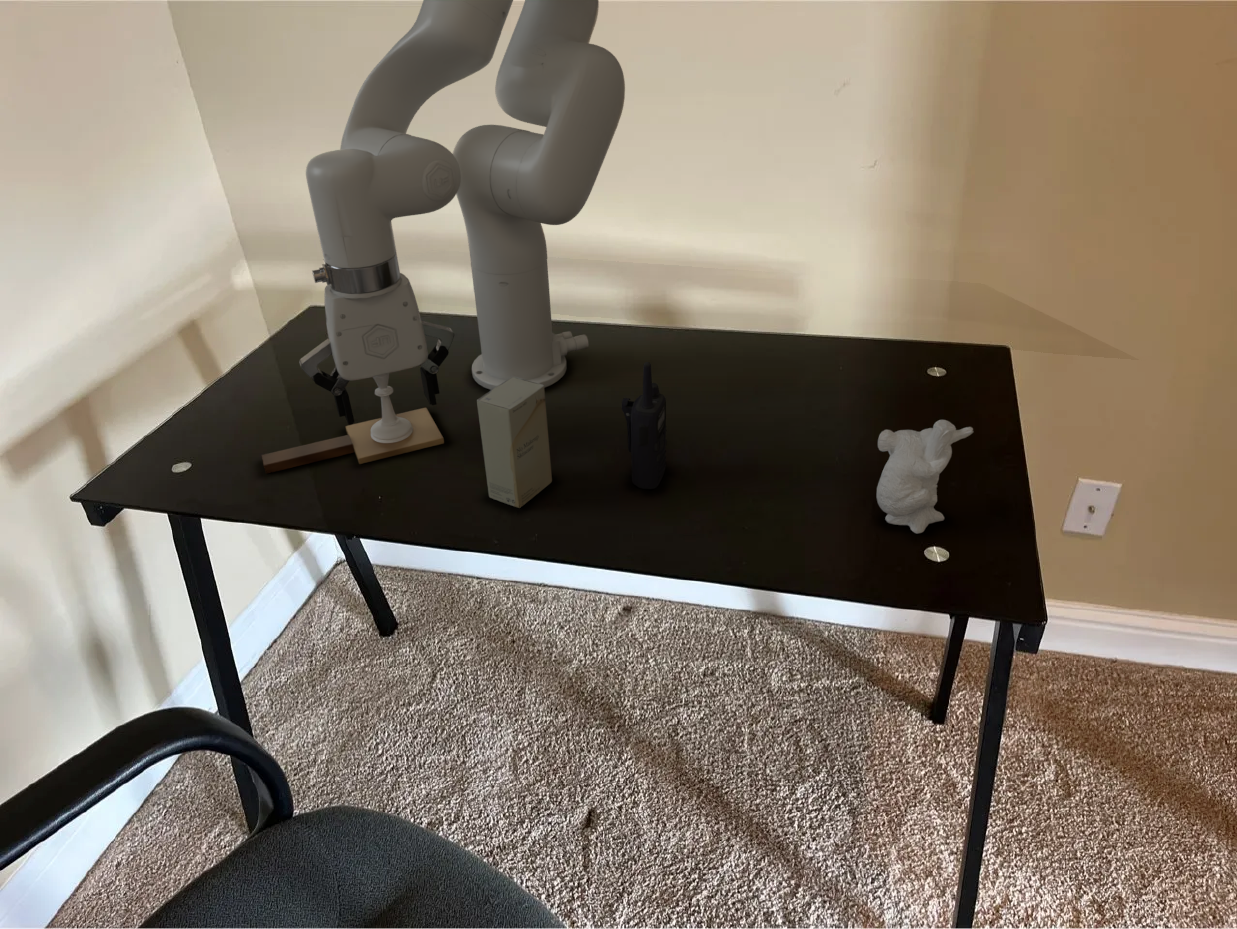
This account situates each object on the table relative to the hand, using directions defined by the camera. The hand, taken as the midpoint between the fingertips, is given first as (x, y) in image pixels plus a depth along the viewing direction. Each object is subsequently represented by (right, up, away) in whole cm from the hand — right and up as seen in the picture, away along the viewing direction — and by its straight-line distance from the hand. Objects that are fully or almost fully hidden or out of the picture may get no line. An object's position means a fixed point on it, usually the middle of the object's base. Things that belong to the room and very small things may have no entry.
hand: (390, 409), depth 108 cm
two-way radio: (+30, -8, -6) cm, 31 cm away
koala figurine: (+57, -12, -14) cm, 60 cm away
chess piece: (0, -3, +2) cm, 3 cm away
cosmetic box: (+16, -9, -7) cm, 20 cm away
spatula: (-5, -4, 0) cm, 6 cm away
